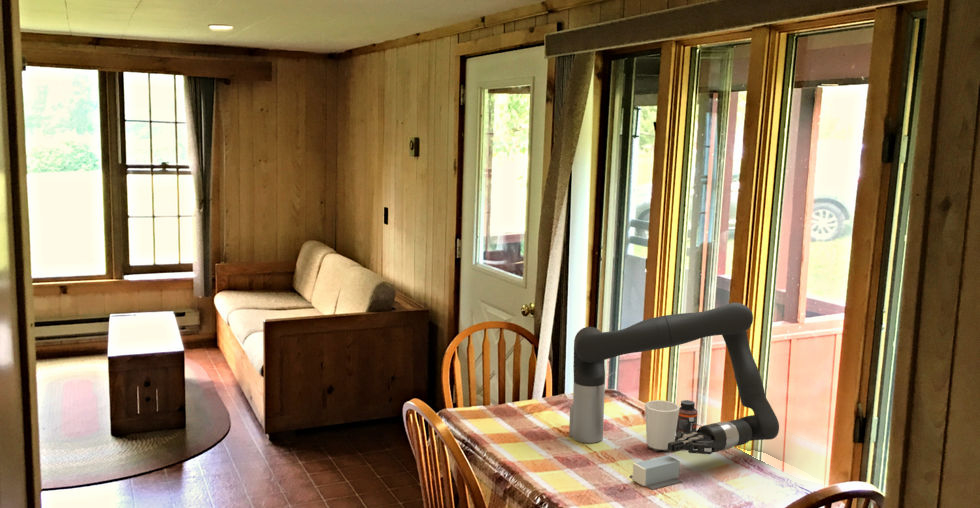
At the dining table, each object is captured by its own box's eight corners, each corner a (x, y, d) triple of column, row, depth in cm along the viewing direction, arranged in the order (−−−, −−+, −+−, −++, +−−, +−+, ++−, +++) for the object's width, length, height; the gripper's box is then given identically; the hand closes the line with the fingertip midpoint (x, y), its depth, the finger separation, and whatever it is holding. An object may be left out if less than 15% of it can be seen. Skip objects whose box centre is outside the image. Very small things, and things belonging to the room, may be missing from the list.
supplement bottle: (696, 442, 241) (698, 406, 239) (675, 441, 242) (677, 404, 240) (695, 435, 247) (697, 399, 245) (675, 433, 248) (677, 398, 246)
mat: (629, 476, 216) (629, 475, 216) (658, 469, 221) (658, 468, 221) (652, 489, 208) (652, 488, 208) (681, 482, 213) (681, 481, 213)
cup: (657, 456, 230) (659, 413, 228) (635, 444, 239) (637, 402, 237) (684, 450, 235) (686, 408, 233) (662, 439, 243) (664, 398, 241)
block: (667, 471, 219) (632, 479, 213) (668, 455, 219) (633, 463, 213) (678, 477, 215) (643, 486, 210) (679, 461, 215) (644, 469, 209)
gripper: (701, 416, 229) (653, 426, 220) (736, 431, 217) (687, 442, 209) (699, 441, 230) (652, 452, 222) (734, 458, 219) (686, 470, 210)
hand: (669, 447), depth 215 cm, fingers closed
